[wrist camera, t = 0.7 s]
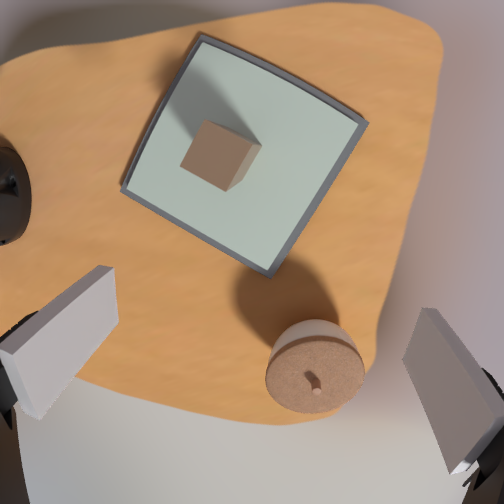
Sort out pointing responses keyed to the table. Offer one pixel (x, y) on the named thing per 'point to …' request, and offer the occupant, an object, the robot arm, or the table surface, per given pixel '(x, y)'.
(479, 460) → the robot arm
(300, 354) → the lidded jar
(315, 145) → the lid
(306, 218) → the mat
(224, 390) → the table surface
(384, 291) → the table surface
